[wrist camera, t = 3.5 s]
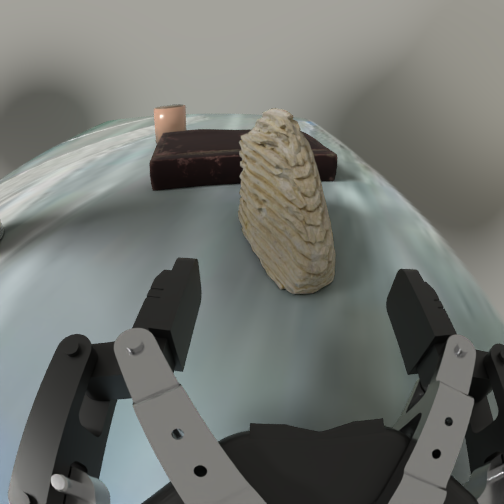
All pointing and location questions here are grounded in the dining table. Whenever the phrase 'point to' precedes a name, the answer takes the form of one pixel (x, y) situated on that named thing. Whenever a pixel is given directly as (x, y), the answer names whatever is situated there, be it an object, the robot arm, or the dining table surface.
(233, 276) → the dining table surface
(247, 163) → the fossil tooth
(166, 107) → the peach glossy cylinder
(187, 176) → the diary
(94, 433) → the robot arm
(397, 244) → the dining table surface
